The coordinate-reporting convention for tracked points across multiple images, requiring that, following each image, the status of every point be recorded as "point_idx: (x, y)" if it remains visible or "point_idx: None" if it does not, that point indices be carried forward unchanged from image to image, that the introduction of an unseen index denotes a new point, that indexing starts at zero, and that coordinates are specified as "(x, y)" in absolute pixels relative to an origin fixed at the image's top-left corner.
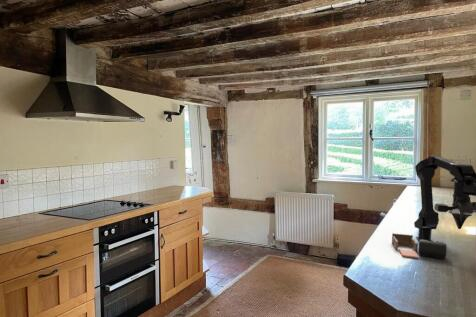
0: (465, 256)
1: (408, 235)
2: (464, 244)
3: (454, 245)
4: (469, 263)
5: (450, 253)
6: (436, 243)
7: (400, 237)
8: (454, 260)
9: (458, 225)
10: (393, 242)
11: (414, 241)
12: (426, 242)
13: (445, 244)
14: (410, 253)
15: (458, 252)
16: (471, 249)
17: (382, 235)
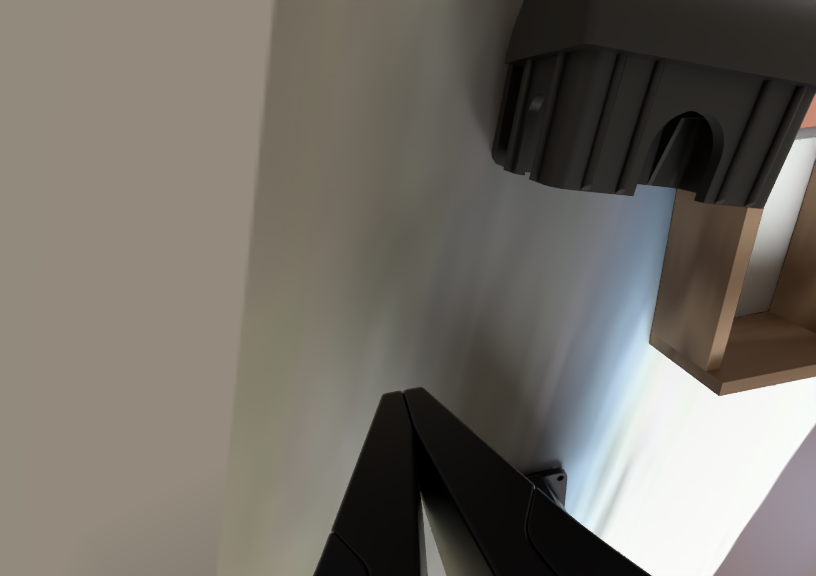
0: (296, 260)
1: (754, 374)
2: (263, 563)
3: (336, 506)
4: (291, 20)
5: (408, 285)
6: (702, 19)
7: (787, 348)
8: (420, 63)
9: (451, 425)
10: None
11: (749, 248)
12: (803, 30)
13: (602, 6)
14: None
15: (337, 348)
16: (226, 478)
17: (753, 468)
